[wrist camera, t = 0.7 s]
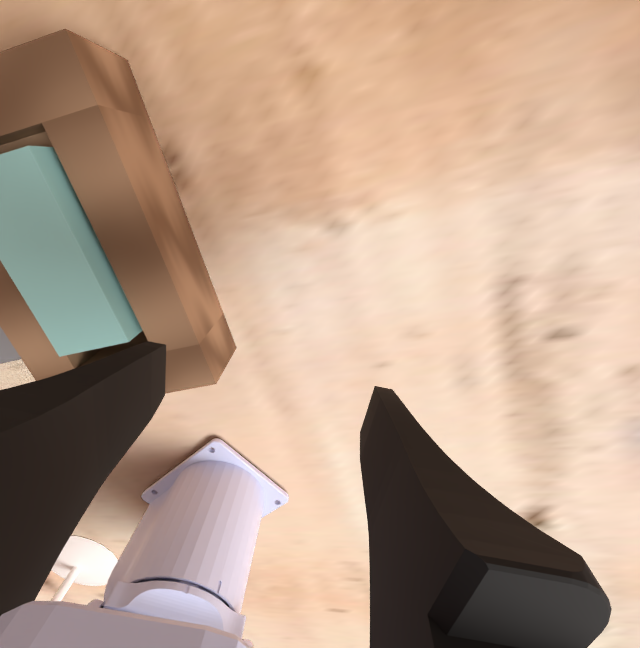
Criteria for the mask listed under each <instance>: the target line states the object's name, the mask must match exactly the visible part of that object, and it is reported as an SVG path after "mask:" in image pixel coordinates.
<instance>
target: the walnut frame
mask: <svg viewBox="0 0 640 648" xmlns="http://www.w3.org/2000/svg"><path fill="white" fill-rule="evenodd" d="M25 146H43V147H54V149H55V151H56V153H57V155H58V157H59V159H60V161H61V164H62V166H63V168H64V170H65V172H66V174H67V176H68V178H69V180H70V182H71V184H72V186H73V188H74V190H75V192H76V194H77V196H78V198H79V201H80V203H81V205H82V207H83V209H84V211H85V213H86V215H87V217H88V219H89V221H90V223H91V225H92V227H93V229H94V231H95V233H96V235H97V237H98V240H99V242H100V244H101V246H102V248H103V250H104V252H105V254H106V256H107V258H108V260H109V262H110V264H111V266H112V268H113V270H114V272H115V274H116V276H117V279H118V281H119V283H120V285H121V287H122V289H123V291H124V293H125V295H126V297H127V299H128V301H129V303H130V305H131V307H132V309H133V311H134V313H135V315H136V318H137V320H138V322H139V324H140V326H141V328H142V330H143V331H142V332H140V333H139V334H138V335H137V336H136V337H134V338H133V339H132V340H131V341H130V342H127V343H122V344H117V345H113V346H108V347H103V348H98V349H94V350H89V351H84V352H80V353H75V354H70V355H65V356H61V357H59V355H58V354H57V352H56V351H55V349H54V347H53V346H52V344H51V342H50V341H49V339H48V337H47V336H46V334H45V333H44V331H43V329H42V328H41V326H40V324H39V323H38V321H37V319H36V318H35V316H34V315H33V313H32V311H31V310H30V308H29V306H28V305H27V303H26V301H25V300H24V298H23V297H22V295H21V293H20V292H19V290H18V288H17V287H16V285H15V283H14V282H13V280H12V279H11V277H10V275H9V274H8V272H7V270H6V269H5V267H4V265H3V264H2V262H1V260H0V327H1V328H2V330H3V331H4V333H5V334H6V336H7V337H8V339H9V340H10V342H11V343H12V345H13V346H14V348H15V349H16V351H17V352H18V354H19V356H20V357H21V359H22V360H23V362H24V363H25V365H26V366H27V368H28V369H29V371H30V372H31V374H32V375H33V377H34V378H35V380H36V381H38V380H41V379H45V378H48V377H51V376H54V375H58V374H60V373H63V372H66V371H69V370H72V369H75V368H78V367H80V366H83V365H86V364H89V363H92V362H94V361H97V360H100V359H102V358H105V357H107V356H110V355H112V354H115V353H117V352H120V351H122V350H125V349H128V348H130V347H133V346H135V345H138V344H141V343H144V342H147V341H150V342H155V343H160V344H165V345H166V380H165V393H170V392H175V391H181V390H186V389H192V388H197V387H202V386H208V385H213V384H216V383H217V381H218V380H219V378H220V376H221V374H222V373H223V371H224V369H225V367H226V365H227V364H228V362H229V360H230V358H231V357H232V355H233V353H234V351H235V349H236V346H235V343H234V340H233V338H232V335H231V332H230V330H229V327H228V325H227V322H226V319H225V317H224V314H223V311H222V309H221V306H220V303H219V301H218V298H217V296H216V293H215V290H214V288H213V285H212V282H211V280H210V277H209V274H208V272H207V269H206V266H205V264H204V261H203V259H202V256H201V253H200V251H199V248H198V245H197V243H196V240H195V237H194V235H193V232H192V230H191V227H190V224H189V222H188V219H187V216H186V214H185V211H184V208H183V206H182V203H181V201H180V198H179V195H178V193H177V190H176V187H175V185H174V182H173V179H172V177H171V174H170V172H169V169H168V166H167V164H166V161H165V158H164V156H163V153H162V150H161V148H160V145H159V142H158V140H157V137H156V135H155V132H154V129H153V127H152V124H151V121H150V119H149V116H148V113H147V111H146V108H145V106H144V103H143V100H142V98H141V95H140V92H139V90H138V87H137V84H136V82H135V79H134V77H133V74H132V71H131V69H130V66H129V63H128V61H127V60H126V59H124V58H122V57H120V56H118V55H116V54H114V53H113V52H111V51H109V50H107V49H105V48H103V47H101V46H99V45H97V44H95V43H93V42H91V41H89V40H87V39H85V38H83V37H81V36H79V35H77V34H75V33H73V32H71V31H69V30H67V29H63V30H60V31H58V32H55V33H52V34H49V35H47V36H44V37H41V38H38V39H35V40H33V41H30V42H27V43H24V44H22V45H19V46H16V47H13V48H10V49H8V50H5V51H2V52H0V154H3V153H6V152H9V151H13V150H16V149H19V148H22V147H25Z"/></svg>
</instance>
